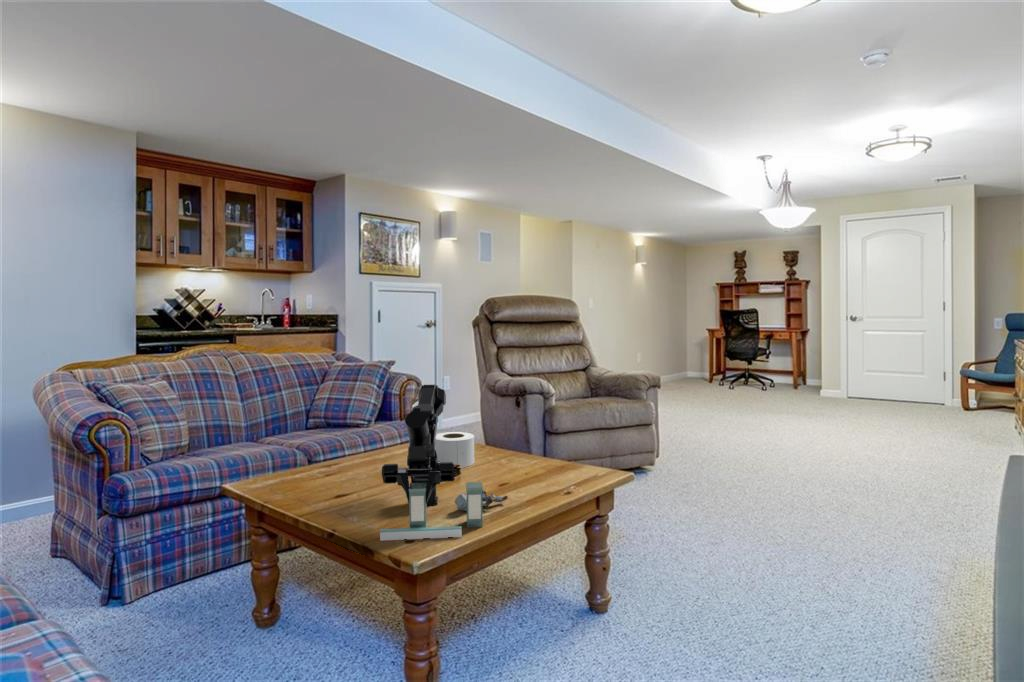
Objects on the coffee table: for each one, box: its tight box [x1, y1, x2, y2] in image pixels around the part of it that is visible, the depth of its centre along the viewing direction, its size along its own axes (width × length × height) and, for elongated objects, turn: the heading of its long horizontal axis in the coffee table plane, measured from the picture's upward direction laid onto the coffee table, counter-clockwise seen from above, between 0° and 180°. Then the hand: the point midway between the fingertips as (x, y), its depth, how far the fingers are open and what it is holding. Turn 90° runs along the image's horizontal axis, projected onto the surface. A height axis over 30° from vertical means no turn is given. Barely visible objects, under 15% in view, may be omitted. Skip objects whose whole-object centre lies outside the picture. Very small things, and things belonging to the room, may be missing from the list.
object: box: [435, 431, 475, 468], centre depth 218 cm, size 16×15×11 cm
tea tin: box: [408, 482, 428, 528], centre depth 148 cm, size 5×4×10 cm
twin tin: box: [465, 481, 484, 529], centre depth 154 cm, size 5×4×10 cm
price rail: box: [379, 525, 463, 542], centre depth 144 cm, size 1×20×2 cm, turn 96°
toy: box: [453, 489, 509, 512], centre depth 168 cm, size 7×11×15 cm
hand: (417, 502), depth 147 cm, fingers closed on tea tin, 4 cm apart
